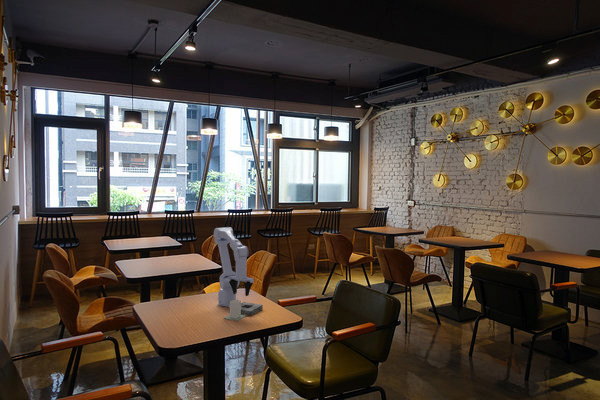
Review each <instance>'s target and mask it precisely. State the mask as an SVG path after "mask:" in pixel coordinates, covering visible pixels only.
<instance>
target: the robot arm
mask: <svg viewBox="0 0 600 400" xmlns="http://www.w3.org/2000/svg"><path fill="white" fill-rule="evenodd" d="M213 239H214V242H215V244H217V247H218V250H219V251H218V252H219V256H220V262H221V267H222V274H220V275H219V287H220V288H219V291H218V295H217V296H218V299H217V306H222V307H228V308H230V301H232V300H237V293H238V287H240V286H239V285H240V282H243V284H244V291H245V293H244V295H245V297H247V296H249V295H250V292H251V291H250V290H251V289H252V286H253V284H254V281H255V279H254V278H252V277H249V276H247V275H248V274H247V265H248V264H247V260H248V259H247V257H249V255H250V254H249V253H250V251H249V247H248V246H246V245H243V243H242V242H241V241H240V240H239V239H238V238H235V235H234V230H233V228H232V227H230V226H228V227H216V228H214V229H213ZM228 244H229V246H230V249H232V251H233V256H234V261H235V271H233V269H232V263H231V258H230V253H229V248H228Z"/></svg>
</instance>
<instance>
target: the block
mask: <svg viewBox="0 0 600 400" xmlns="http://www.w3.org/2000/svg"><path fill="white" fill-rule="evenodd" d="M241 303H242V300H239V299H236V300H232V301H230V307H229V315H230V317H232V318H238V317H240V316H241V315H242V314H241Z"/></svg>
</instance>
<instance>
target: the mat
mask: <svg viewBox="0 0 600 400" xmlns="http://www.w3.org/2000/svg"><path fill="white" fill-rule="evenodd" d="M245 317H247V315H242V314H241V316H240V317H238V318H232V317H230V314H229V315H227V316H225V317H223V320H228V321H229V320H230V321H235V322H239V321H240V320H242V319H244V318H245Z"/></svg>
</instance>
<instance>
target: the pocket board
mask: <svg viewBox="0 0 600 400" xmlns="http://www.w3.org/2000/svg"><path fill="white" fill-rule="evenodd" d="M263 307H264V306H263V304H260V303H253V302H248V301H247V302H246V301H243V302H241V315H245V316H250V317H252V316H254V315H256V314H257V313H259V312H261V311H262V310H263Z"/></svg>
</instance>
